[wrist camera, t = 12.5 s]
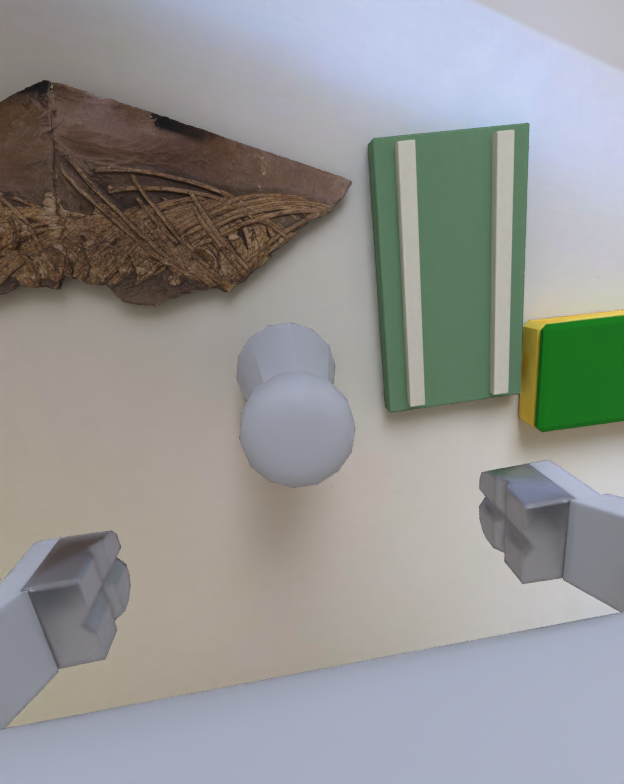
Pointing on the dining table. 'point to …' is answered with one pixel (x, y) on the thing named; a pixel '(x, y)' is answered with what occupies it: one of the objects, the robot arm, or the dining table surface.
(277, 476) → the salt shaker
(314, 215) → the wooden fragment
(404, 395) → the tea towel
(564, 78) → the dining table surface
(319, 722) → the robot arm
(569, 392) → the dish sponge
